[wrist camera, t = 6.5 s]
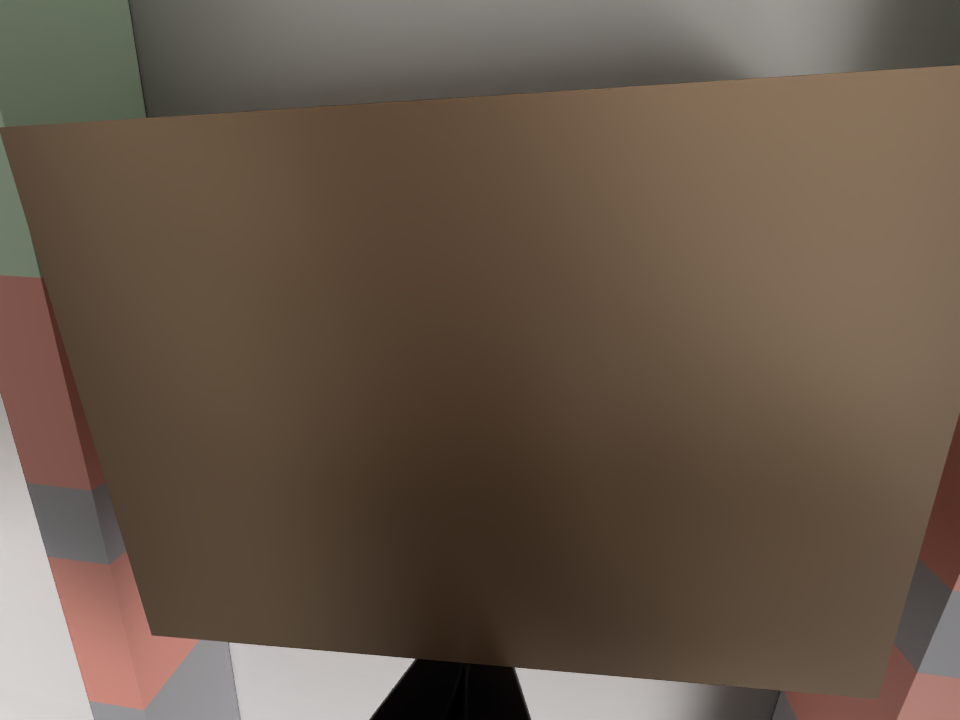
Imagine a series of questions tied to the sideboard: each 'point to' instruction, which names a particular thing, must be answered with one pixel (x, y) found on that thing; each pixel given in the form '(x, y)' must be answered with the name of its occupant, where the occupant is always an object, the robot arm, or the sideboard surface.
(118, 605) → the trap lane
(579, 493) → the tan block
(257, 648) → the sideboard surface
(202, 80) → the sideboard surface
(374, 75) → the sideboard surface
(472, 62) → the sideboard surface
